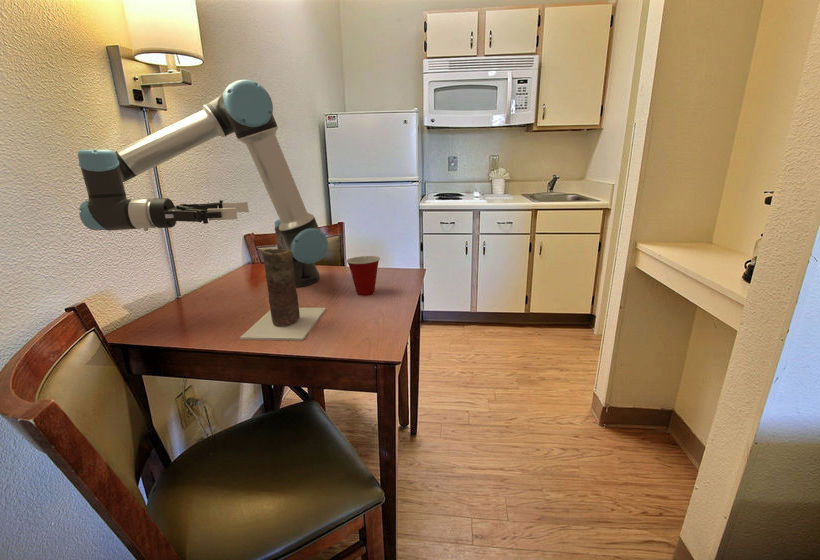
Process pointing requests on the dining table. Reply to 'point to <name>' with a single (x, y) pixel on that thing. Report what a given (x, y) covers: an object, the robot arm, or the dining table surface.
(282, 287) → the brown rough cylinder
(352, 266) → the plastic cup
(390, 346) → the dining table surface
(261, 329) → the mat
